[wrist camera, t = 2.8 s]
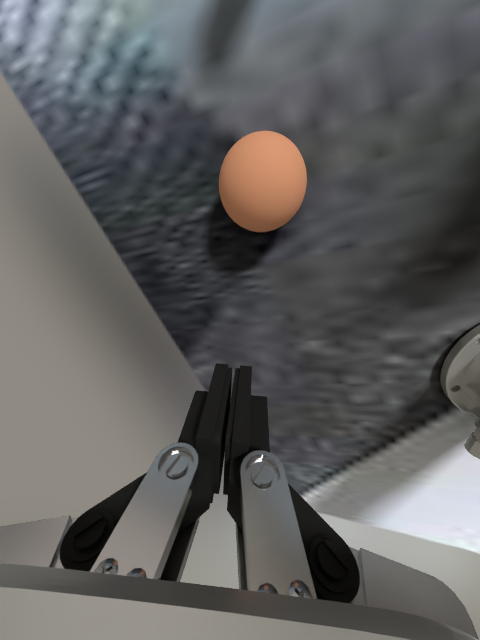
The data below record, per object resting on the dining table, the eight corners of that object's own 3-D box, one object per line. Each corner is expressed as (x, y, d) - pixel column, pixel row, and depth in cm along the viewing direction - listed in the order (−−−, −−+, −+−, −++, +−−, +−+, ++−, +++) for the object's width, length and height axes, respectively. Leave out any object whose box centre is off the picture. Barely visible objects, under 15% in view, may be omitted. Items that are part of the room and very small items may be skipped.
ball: (293, 231, 20) (305, 238, 15) (224, 227, 20) (210, 232, 15) (305, 147, 18) (325, 116, 12) (226, 143, 18) (211, 112, 12)
